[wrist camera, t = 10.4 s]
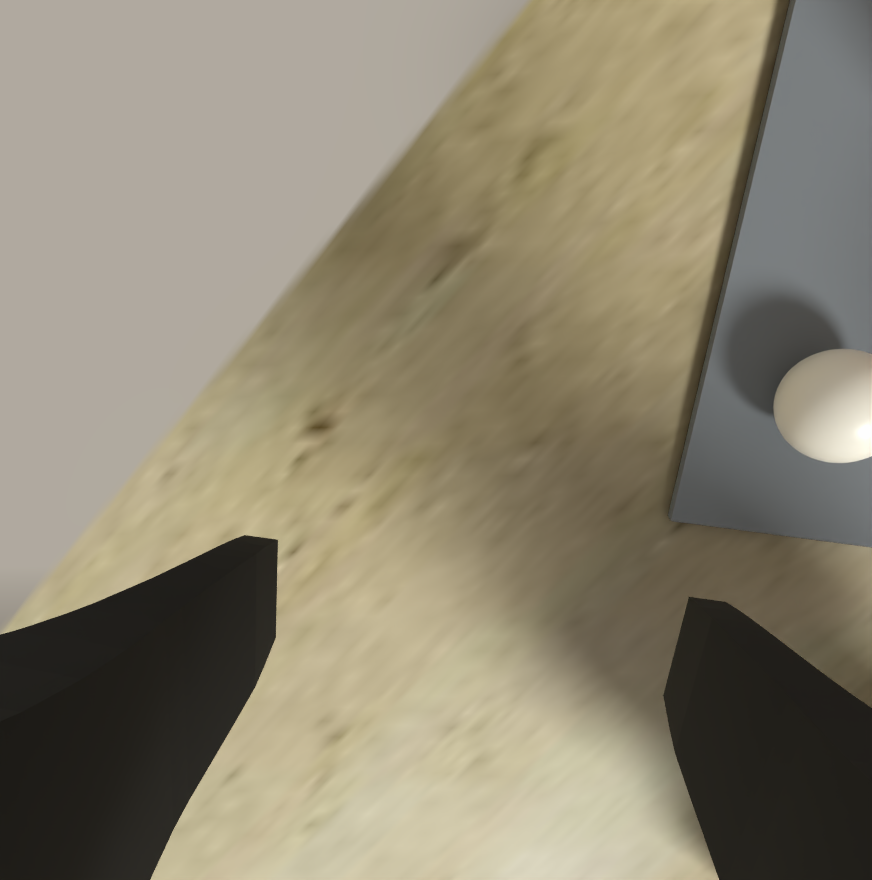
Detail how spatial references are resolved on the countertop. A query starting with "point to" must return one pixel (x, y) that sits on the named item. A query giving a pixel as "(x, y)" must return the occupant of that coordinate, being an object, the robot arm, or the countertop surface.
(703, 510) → the mat
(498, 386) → the countertop surface
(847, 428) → the marble
